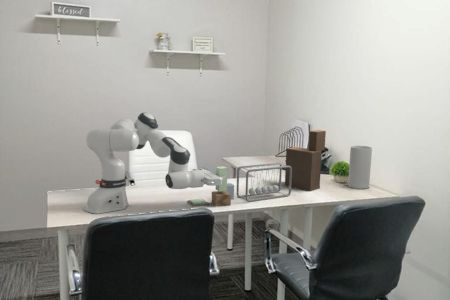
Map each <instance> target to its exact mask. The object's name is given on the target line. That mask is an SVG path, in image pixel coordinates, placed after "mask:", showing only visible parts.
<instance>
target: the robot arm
mask: <svg viewBox="0 0 450 300" xmlns="http://www.w3.org/2000/svg"><path fill="white" fill-rule="evenodd" d="M158 128H159V124H158V123H157V120H156V117H155V116H154V115H152V114H151V113H149V112H145V111H144V112H141V113H140V114H138V116H137V119H136V120H135V122H134V121H133V119H130V118H129V117H124V118H121V119H119V120H117V121H116V122H115V123H114V124H112V126H111V127H110V128H108V129H107V128H100V129H99V128H97V129H93V130H90V131H89V132H88V133H87V135H86V138H85V139H86V144H87V145H86V146H87V147H88V148H89V149H90V150H91V151H93V153H94V154H95V155H96V156H97V158H98V159H99V161H100V166H101V173H102V174H101V175H102V178H101V180H99V179H96V180H95V181H94V182H95V184H96V185H99V186H98V187H97V188H96V189H95V190H94V191H92V193H91V194H90V195H89V196H88V198H87V204H85V205H83V206H82V209H83V211H85V212H87V213H90V214H96V215H98V214H99V215H100V214H104V213H109V212H115V211H123V210H126V209H127V207H128V206H129V205H130V203H129V201H128V197H127V196H128V195H127V189H126V187H127V178H126V168H125V167H126V165H125V162H124V161H123V160H122V159H120V158H119V157H117V156H116V154H114V152H121V153H122V152H124V153H125V152H132V151H135V150H142V149H143V148H144V147H146V144H147V142H148V143H149V146H150V147H151V148H150V149H151V150H152V152H153V153H154V154H155V156H157V157H159V158H162V159H163V158H167V157H169V163H168V171H167V173H166V175H165V179H164V180H165V184H166V187H168V188H169V189H172V190H185V189H188V188H190V189H197V188H203V187H204V185H206V186H208V187H209V186H211V187H212V186H214V187H216V186H217V185H222V180H226V177H225V176H222V177H219V176H217V175H216V172H215V173H214V172H211V171H209V170H207V169H195V168H194V169H191V170H189V171H188V168H189V162H190V158H191V153H190V151H189V150H188V149H187V148H185V147H184V146H183V145H181V144H180V143H179V142H178V141H176V140H175V139H174V138H173V137H170V136H167V135H166V134H165V133H164V132H162V131H160V130H159V129H158Z"/></svg>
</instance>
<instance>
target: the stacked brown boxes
mask: <svg viewBox="0 0 450 300" xmlns="http://www.w3.org/2000/svg"><path fill="white" fill-rule="evenodd" d="M326 132H327V131H326V130H321V129H316V130H309V133H308V147H307V148H305V147H300V146H299V147H298V146H292V147H288V148H286V150H285V151H286V152H285V165H286V166H291V168H292V177H291V188H295V189H300V190H304V191H306V192H307V191H308V192H314V191H317V190H319V189H321V185H320V184H321V170H322V154H323V153H322V152H323V151H325V150H326ZM284 171H285V172H284V174H285V175H284V186H287V187H289V177H290V168H284Z"/></svg>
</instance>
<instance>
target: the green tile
mask: <svg viewBox="0 0 450 300" xmlns="http://www.w3.org/2000/svg"><path fill="white" fill-rule="evenodd" d="M186 203H188V204H189V205H190V206H192V207H198V206H199V207H200V206H201V207H202V206H207V205H208V206H209V205H210V203H209V202H208V201H207V200H206V199H204V198H194V199H189V200H186Z"/></svg>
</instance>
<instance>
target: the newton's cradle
mask: <svg viewBox="0 0 450 300" xmlns="http://www.w3.org/2000/svg"><path fill="white" fill-rule="evenodd" d="M249 168H250V169H249ZM286 168H290V177H289V186H288V193H287V194H286V193H282V192H280V191H281V189H282V173H283V172H282V171H283V169H286ZM240 169H241V170H242V169H244V170H246V173H245V194H243V195H240V194H239V189H240ZM274 170H279V173H277V174H276V175H277V176H275V174H274ZM263 171H267V172H266V174H265V176H267V174H268V175H270V173H269V171H272V172H271V174H273V176H274V178H273V179H274V180H275V183H277V180H278V182H279V183H278V185H277V184H274V185H272V186H271V183H272V182H268V183H269V184H268V186H266V185H263V186H261V187H260V186H257V187H255V188H254V186H251V187H250V188H249V173H252V172H263ZM278 174H279V178H278V179H275V177H278ZM255 176H257V177H256V178H257V179H256V180H257V181H258V185H260V182H261V181H259V179H258V177H259V178H262V177H261V176H262V174H260V176H258V175H254V178H255ZM273 176H271V178H270V180H272V177H273ZM291 177H292V168H291V166H286V164H282V163H281V162H272V163H271V162H270V163H261V164H253V165H252V164H251V165H241V166H238V168H237V169H236V196H237V198H240V199H241V198H242V199H243V200H245V201H246V203H254V202H260V201H267V200H273V199H280V198H286V197H289V196H290V195H291V193H292V187H291ZM250 178H251V179H250V180H251V181H250V185H253V184H254V181H255V180H253V181H252V177H250ZM262 180H263V184H265V183H266V181H267V180H266V179H265V181H264V178H262ZM252 182H253V183H252ZM276 193H279V194H280V195H275V196H268V197H262V198H255V199H249V197H255V196H261V195H262V196H263V195H268V194H276Z"/></svg>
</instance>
